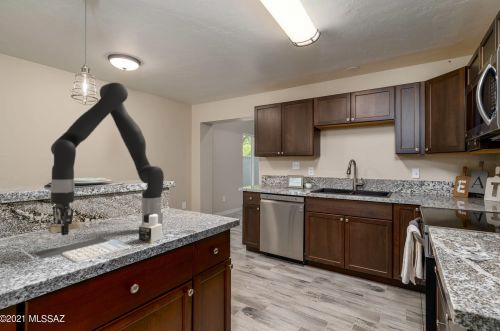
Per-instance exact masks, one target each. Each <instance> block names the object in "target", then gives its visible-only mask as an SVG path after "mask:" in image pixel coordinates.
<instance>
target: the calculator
mask: <svg viewBox="0 0 500 331" xmlns="http://www.w3.org/2000/svg"><path fill="white" fill-rule="evenodd" d="M129 248H130V245H129V244H127V243H124V242H121V241H119V240H115V239H113V240H109V241H107V242H103V243H99V244H95V245H91V246H87V247H83V248H79V249H75V250H71V251H66V252H63V253H62V254H61V256H63V257H65V258H67V259H68V260H70V261H71V262H73V263H79V262H80V263H81V262H83V261H86V260H91V259H94V258H96V257H101V256H103V255H104V256H105V255H107V254H112V253H116V254H117V253H118V252H119V251H125V250H126V249H129Z"/></svg>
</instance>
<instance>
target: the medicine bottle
mask: <svg viewBox="0 0 500 331" xmlns="http://www.w3.org/2000/svg"><path fill="white" fill-rule="evenodd" d="M160 240H163V229H162V224H158V215H157V214H154V213H150V214H146V215H144V225H142V224H141V225H139V226H138V241H139V242H145V243H149V244H151V245H152V244H153V243H156V242H158V241H160Z"/></svg>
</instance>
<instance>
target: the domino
mask: <svg viewBox="0 0 500 331" xmlns="http://www.w3.org/2000/svg"><path fill="white" fill-rule="evenodd" d="M61 226H62V225H61V224H57V225H56V224H52V225H48V226H47V228H48V229H47V230H48V232H49V233H52V234H54V233H56V232H61ZM80 228H81V229H82V228H83V222H82V221H78V220H76V221H72V224H70V225H69V231H71V230H76V229H80Z"/></svg>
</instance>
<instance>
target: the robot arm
mask: <svg viewBox="0 0 500 331" xmlns="http://www.w3.org/2000/svg"><path fill="white" fill-rule="evenodd" d="M99 96H100V98H99V100H98V101H97V102H96V103H95V104H94V105H93V106H91V107H90V108H89V109H88V110H87V111H85V112H83V113H82V114H81V115H80V116H79V117H78V118H77V119H76V120H75V121H74V122H73V123H72V124H71V125H70V126H69V128H68V129H67V130H66V131H65V132H64V133H63V134H62V135H61V136H60V137H58V138H57V139H56V140H55V141H54V142H53V143H52V145H51V147H50V152H51V154H53V165H52V168H51V181H50V182H51V183H50V204H52V205H53V204H54V205H55V206H52V216H53V220H52V221H53V222H54V223H55V225H57V224H61V225H62V226H61V232H55V233H56V234H61V236H68V235H70V234H69V231H70V230H69V225H70V224H72V222H73V219H74V218H73V217H74V209H71V206H70V204H71V203H74V202H75V187H76V186H75V179H74V178H75V170H74V169H75V161H76V154H77V147H79V145H80V144H81V143H83V142H84V141H85V140H86V139H88V137H90V135H91V134H92V133H93V132H94V131H95V130H96V128H97V127H98V126H99V125H100V124H101V123H102V122H103V120H105V118H107V116H109V115H111V118H112V119H113V121H114V125H115V126H116V128H117V129H118V133H119V135H120V137H121V139H122V141H123V143H124V145H125V147H126V149H127V150H128V154H129V155H130V157H131V159H132V161H133V164H134V167H135V170H136V173H137V175H138V178H139V180H140V181H141V182H142V183H144V184H146V189H145V190H144V191H142V193H141V225H144V215H146V214H150V213H154V214H157V215H158V224H162V230H163V226H164V225H163V221H164V220H163V219H164V216H163V215H164V213H163V212H164V211H163V210H162V194H163V191H164V171H163V169H162V168H161V167H159V166H157V165H156V166H152V165H151V164H150V162H149V159H148V157H147V152H146V150H147V143H146V139H145V136H144V135H143V132H142V130H141V128H140V126H139V125H138V124H137V123H136V121H135V120H134V118H132V117H131V115H130V114H129V113H128V111H127V109H126V107H125V104H124V102H126V101H127V99H128V96H129V95H128V89H127V88H126V87H125V85H123V84H121V83H119V82H110V83H107V84H104V85H102V86H101V87H100V89H99Z"/></svg>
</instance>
